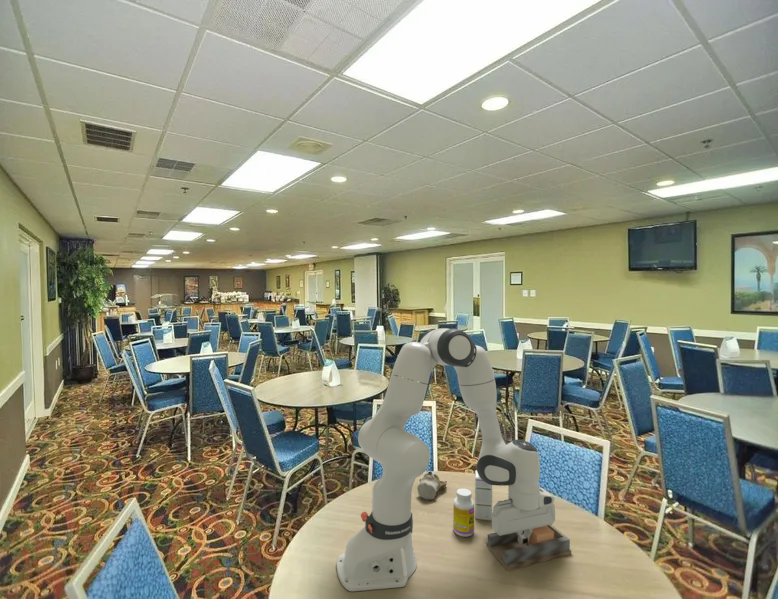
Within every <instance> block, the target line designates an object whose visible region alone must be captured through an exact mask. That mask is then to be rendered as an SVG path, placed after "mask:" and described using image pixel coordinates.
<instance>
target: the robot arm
mask: <svg viewBox="0 0 778 599" xmlns="http://www.w3.org/2000/svg"><path fill="white" fill-rule="evenodd" d="M436 365H441V366H451V367H452V368H454V371H455V372H456V374H457V382H458V387H459V392H460V394H461V397H462V400H463V403H464V404H465V406H466V407H468V408H469V409H470V410H472V411H474V412H475V414H476V416H477V420H478V424H479V428H480V433H481V437H482V438H481V444H480V449H479V450H480V451H479V455H478V460H477V461H476V462H477V463H476V470H477V472H478V475H479V476H480V478H481V479H482V480H483V481H484V482H486V483H487V484H490V485H492V486H499V487H502V486H504V487H505V486H508V487H507V488H508V494H507V495H508V497H507V499H505V500H498V501H497V502H496V503H495V504H494V505H493V506H492V521H491V528H492V530H493V531H494V533H497V534H498V535H499V536H501V535H506V534H511V533H515V532H516V534H517V536H518V542H519V543H520V544H525V543H529V537H530V536H531V534H532V532H533V528H538V527H542V526H547V525H552V526H553V524H554V523H555V521H556V507H555V504H554V503H555V496H554V495H552V493H551V492H549V491H548V490H546V489H544V488H542V487H541V486H540V484H539V480H540V477H541V464H540V462H541V461H540V454H539V451H538V449H537V448H536V447H535V445H534V444H532V443H531V442H529V441H526V440H522V439H513V440H512V441H511V442H507V440H506V439H505V437H504V436H503V433H502V430H501V427H500V426H501V425H500V421H499V418H498V413H497V403H498V402H497V401H498V400H497V399H498V394H497V392H498V391H497V384H496V378H495V374H494V370H493V367H492V364H491V360H490V358H489V356H488V353H487V351H486V350H485V348H484V347H483V346H479V345H477V344H474V341H473V340H472V338H471V336H470V335H468V334H467V333H466V332H465V331H463V330H462V329H458V328H448V327H441V328H434V329H431V330H428V331H426V332H425V333H424V334H423V335H422V336H421V337H420V339H419V340H418V341H409V342H406V343H405V344H403V345H402V347H401V349H400V350H399V353H398V354H397V357H396V359H395V362H394V365H393V367H392V368H393V369H392V372H391V375H390V378H389V382H388V386H387V389H386V392H385V395H384V398H383V400H382V402H381V405H380V406H379V408H378V410H377V411H376V413H375V415H374V416H373V417H372V418H371V419H369V420H367V421H366V422H365V423H363V424H362V426H361V427H360V429H359V431H358V434H357V440H358V444H359V446H360V448H361V449H362V451H363V452H364V453H365V454H366V455H367V456H368V457H369V458H371V459H372V460H374V461H375V462H377V463H379V464H380V465H381V467H382V476H381V478H379V479H377V480H376V482H375V483H374V484H373V486H372V489H371V490H372V494H371V495H372V498H371V500H372V501H371V502H372V503H371V504H372V506H371V508H372V509H371V513H370V515H368V512H367V511H362V512H361V514H360V518H361V520H362V522H364V523H365V525H364V527H362V529H360V530H359V531H358V532H357V533H356V534H354V535H352V537H350V538H349V540H348V541H347V544H346V546H345V552H342V553H341V554H339V556H338V558H337V560H336V573H337V577H338V580H339V582H340V584H341V585H342V587H344V588H345V590H347V591H349V592H359V591H372V590H382V589H391V588H392V589H394V588H403V587H405V586H406V585H407V583H408V580H409V578H410V577H411V576H412V575H413V573H414V572H415V571H416V568H417V565H418V564H417V563H418V562H417V560H416V556H415V552H414V546H413V528H414V519H413V512H412V493H413V492H412V490H413V485H414V484H415V480H417V478H419V477H420V476H421V475H423V474H424V473H425V471H426V470H427V469H428V467H429V464H430V459H431V453H430V449H429V446H428V445H427V444H426V443H425V442H424V441H423V440H422V439H421V438H420V437H418V436H417V435H416V434H414V433H411V432H409V431H407V430H405V426H406V425H407V423H408V422H409V420H410V419H411V418H412V417H413V416H416V415H417V414H419V413H420V412H421V411H422V408H423V405H424V402H425V398H426V397H425V396H426V394H427V389H428V387H429V381H430V376H431V374H432V371H433V369H434V368H435V366H436ZM524 530H525V532H524V534H523V535H521V534H522V533H523V531H524Z"/></svg>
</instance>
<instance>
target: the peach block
mask: <svg viewBox="0 0 778 599" xmlns="http://www.w3.org/2000/svg"><path fill="white" fill-rule="evenodd" d="M524 532H525V530H524ZM553 539H554V531H552V530H551V529H550V528H549V527H547V526H542V527H538V528H533V532H532V534H531V536H530V537H529V543H528V544H529V545H532V544H536V543H540V542H545V541H549V540H553Z"/></svg>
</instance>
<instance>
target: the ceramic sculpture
mask: <svg viewBox="0 0 778 599" xmlns="http://www.w3.org/2000/svg"><path fill="white" fill-rule="evenodd" d="M418 480H419V484H418V485H417V487H416V488H417V493H418V495H419V497H420V498H422V499H423V500H426V501H427V500H430V501H431V500H433V499H434V498H435V497H436V496H437V492H438V491H441V490H444V489H445V488H446V487H447V484H448V483H447V482H448V481H446V480H445V481H442V480H440V477H439V476H438V474H436V473H435V472H433V471H428V472H426V473H425V474H424V475H423V477H421V478H419V479H418Z"/></svg>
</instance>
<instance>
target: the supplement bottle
mask: <svg viewBox="0 0 778 599" xmlns="http://www.w3.org/2000/svg"><path fill="white" fill-rule="evenodd" d="M452 517H453V518H452V519H453V520H452V521H453V524H452V525H453V526H452V527H453V532H454V534H456V535H458V536H459V537H464V538H465V537H466V538H467V537H471V536H473V535H474V532H475V500H474V499H472V491H471V490H470V489H467V488H458V489H457V490H456V497H454V498H453V516H452Z"/></svg>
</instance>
